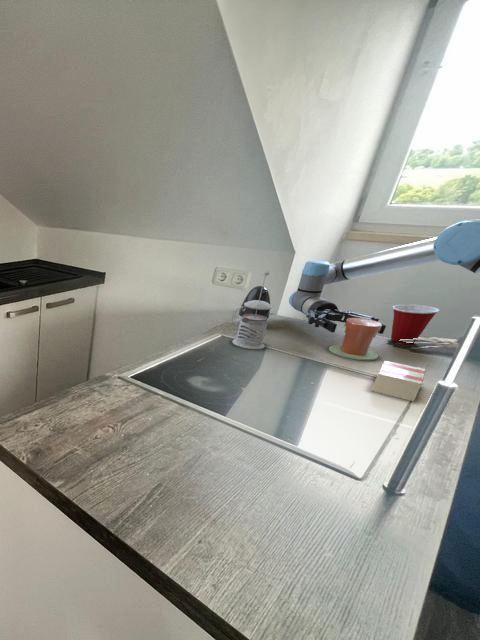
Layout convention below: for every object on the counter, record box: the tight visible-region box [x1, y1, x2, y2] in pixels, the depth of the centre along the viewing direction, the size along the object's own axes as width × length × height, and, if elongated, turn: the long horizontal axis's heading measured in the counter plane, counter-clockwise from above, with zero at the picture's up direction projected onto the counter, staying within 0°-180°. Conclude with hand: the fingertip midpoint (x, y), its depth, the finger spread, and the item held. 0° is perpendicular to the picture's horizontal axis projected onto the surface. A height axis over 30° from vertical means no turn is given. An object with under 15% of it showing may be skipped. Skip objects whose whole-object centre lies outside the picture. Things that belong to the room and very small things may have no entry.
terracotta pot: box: [340, 318, 383, 355], centre depth 123 cm, size 8×8×10 cm
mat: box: [328, 344, 379, 361], centre depth 125 cm, size 12×12×1 cm
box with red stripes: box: [370, 360, 426, 402], centre depth 102 cm, size 12×8×5 cm
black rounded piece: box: [238, 285, 271, 325], centre depth 149 cm, size 10×10×15 cm
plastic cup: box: [390, 304, 440, 345], centre depth 130 cm, size 11×11×12 cm
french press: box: [231, 270, 273, 350], centre depth 130 cm, size 10×12×25 cm
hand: (358, 329), depth 123 cm, fingers open, 13 cm apart
